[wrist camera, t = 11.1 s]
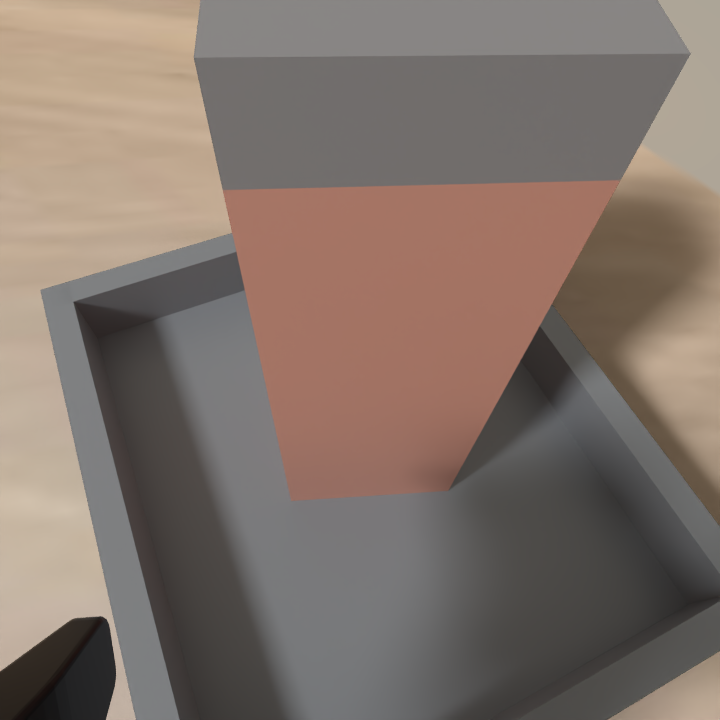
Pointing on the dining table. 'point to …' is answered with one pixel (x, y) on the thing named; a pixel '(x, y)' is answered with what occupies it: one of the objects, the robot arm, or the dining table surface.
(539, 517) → the tray
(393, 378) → the pink and gray block
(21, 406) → the dining table surface
